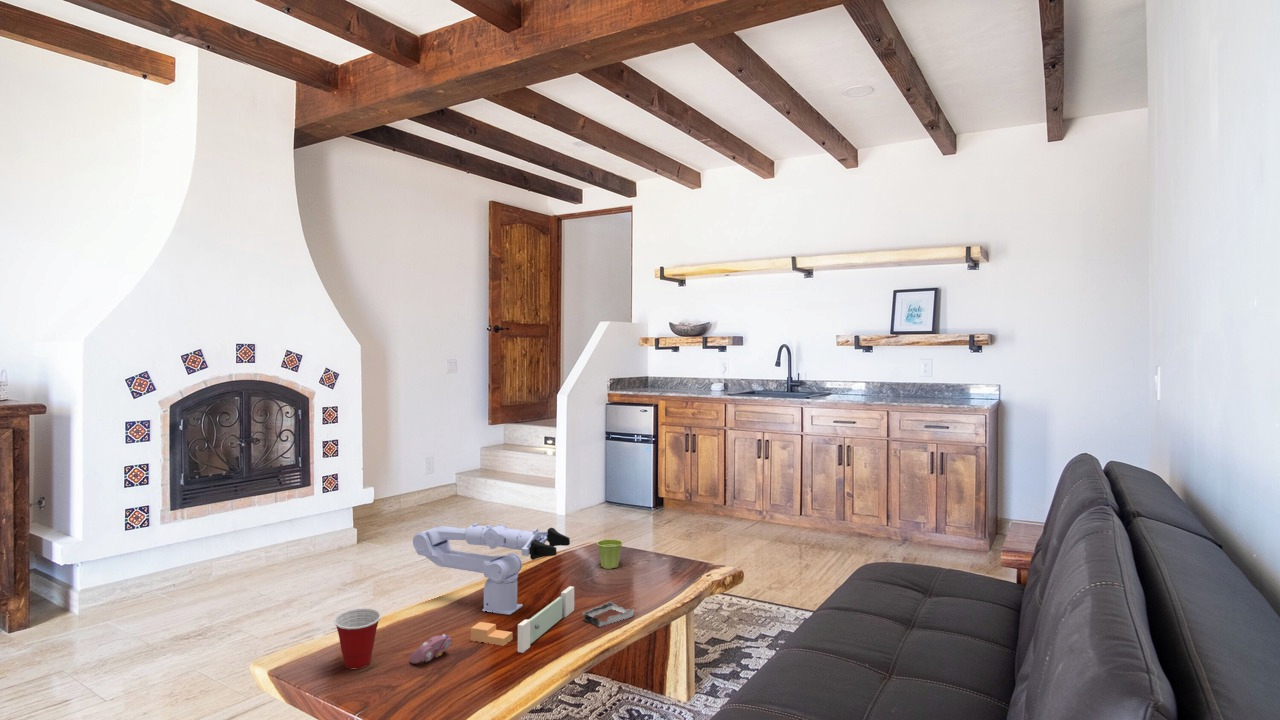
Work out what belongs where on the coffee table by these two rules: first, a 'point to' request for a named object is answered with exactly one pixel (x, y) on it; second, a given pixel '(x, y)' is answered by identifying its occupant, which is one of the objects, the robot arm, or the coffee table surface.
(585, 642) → the coffee table surface
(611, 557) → the plant pot
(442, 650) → the pink elongated piece
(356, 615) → the plastic cup
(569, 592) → the door frame
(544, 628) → the door
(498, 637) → the stepped wooden block
